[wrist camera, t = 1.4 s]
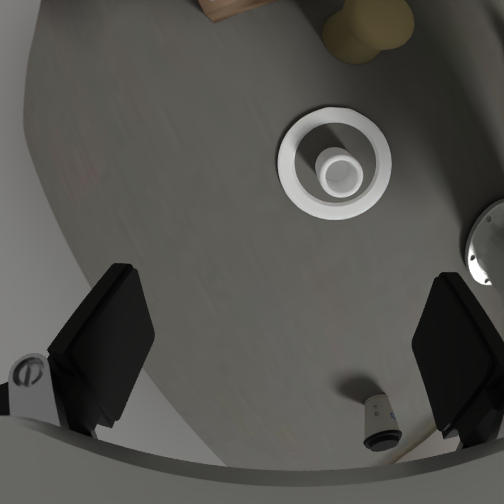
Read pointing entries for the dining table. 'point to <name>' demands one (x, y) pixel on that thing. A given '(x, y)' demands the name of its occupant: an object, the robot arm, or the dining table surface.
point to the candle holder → (335, 166)
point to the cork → (367, 29)
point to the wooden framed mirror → (228, 7)
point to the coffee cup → (380, 424)
